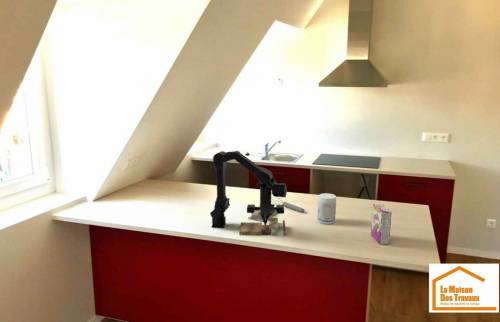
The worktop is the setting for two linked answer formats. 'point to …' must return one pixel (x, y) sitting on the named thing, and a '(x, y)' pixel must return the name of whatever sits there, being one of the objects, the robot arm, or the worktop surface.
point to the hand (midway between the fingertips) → (265, 224)
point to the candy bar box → (381, 224)
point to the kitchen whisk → (291, 206)
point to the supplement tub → (326, 208)
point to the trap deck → (261, 229)
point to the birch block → (273, 223)
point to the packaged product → (259, 216)
